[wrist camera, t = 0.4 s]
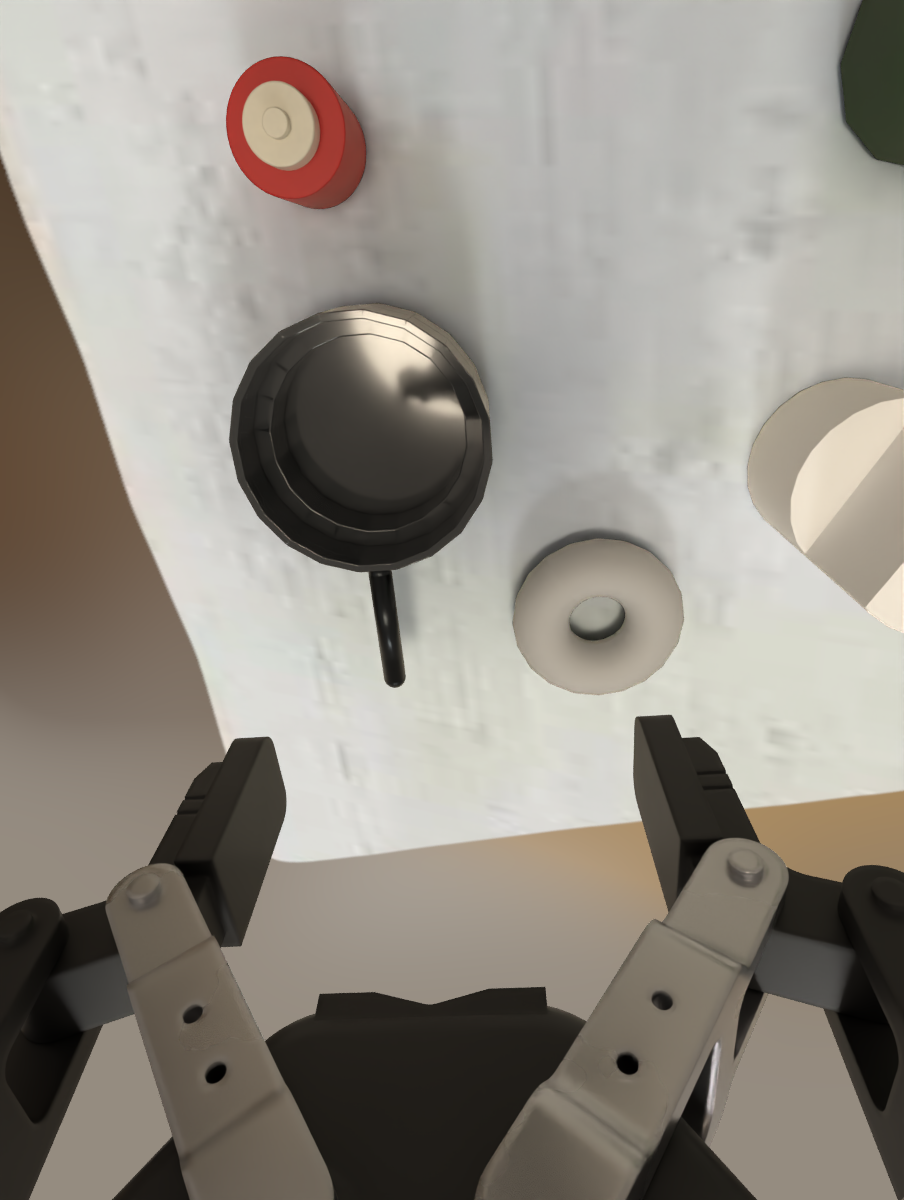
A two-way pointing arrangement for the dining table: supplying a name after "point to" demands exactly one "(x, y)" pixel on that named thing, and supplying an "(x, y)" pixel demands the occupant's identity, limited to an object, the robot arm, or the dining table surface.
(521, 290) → the dining table surface
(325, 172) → the ketchup bottle
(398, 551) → the grey round hollow bowl
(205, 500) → the dining table surface
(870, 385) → the beige cylinder
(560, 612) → the donut
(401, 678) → the handle
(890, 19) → the bottle
